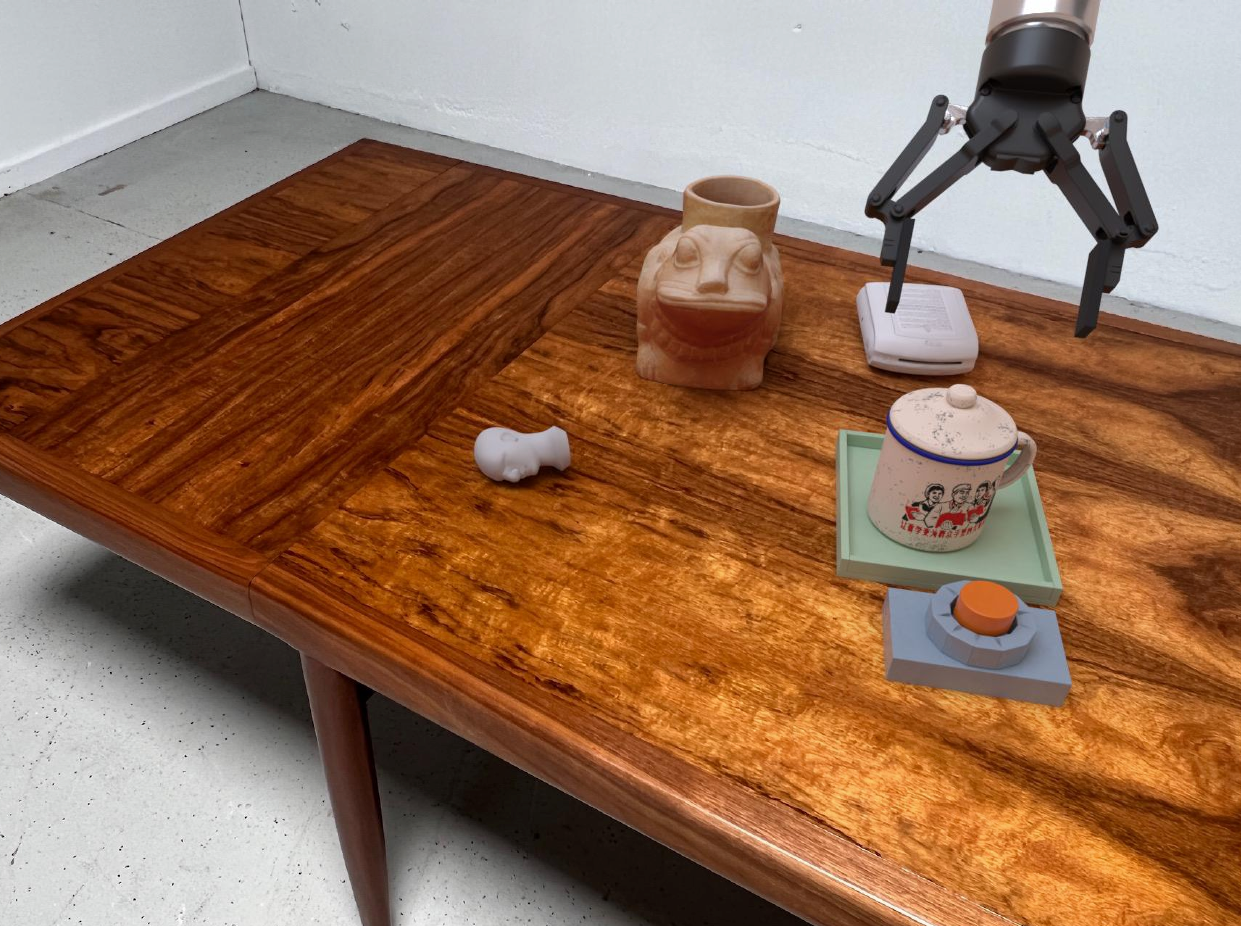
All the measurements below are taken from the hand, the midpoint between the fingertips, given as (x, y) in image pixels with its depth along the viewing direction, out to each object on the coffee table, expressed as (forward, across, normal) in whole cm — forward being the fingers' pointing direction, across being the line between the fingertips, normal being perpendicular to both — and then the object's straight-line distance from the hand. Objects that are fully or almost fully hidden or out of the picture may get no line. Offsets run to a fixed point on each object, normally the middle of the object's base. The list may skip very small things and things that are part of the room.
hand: (986, 320), depth 80 cm
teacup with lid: (+14, 0, -5) cm, 15 cm away
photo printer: (-10, +4, -27) cm, 29 cm away
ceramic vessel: (-1, +22, -21) cm, 31 cm away
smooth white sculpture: (+17, +33, -3) cm, 37 cm away
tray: (+15, 0, -5) cm, 16 cm away
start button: (+23, -2, +8) cm, 24 cm away
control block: (+25, -2, +5) cm, 26 cm away
